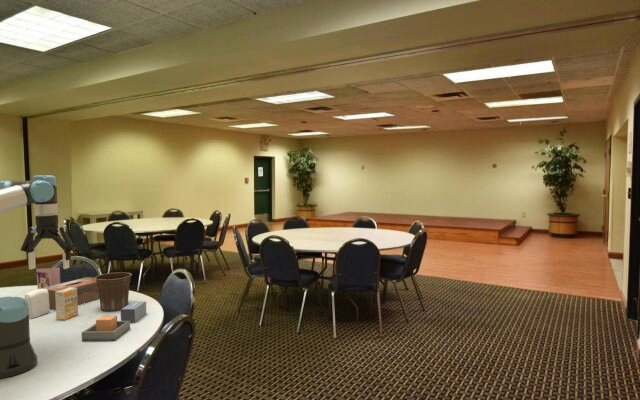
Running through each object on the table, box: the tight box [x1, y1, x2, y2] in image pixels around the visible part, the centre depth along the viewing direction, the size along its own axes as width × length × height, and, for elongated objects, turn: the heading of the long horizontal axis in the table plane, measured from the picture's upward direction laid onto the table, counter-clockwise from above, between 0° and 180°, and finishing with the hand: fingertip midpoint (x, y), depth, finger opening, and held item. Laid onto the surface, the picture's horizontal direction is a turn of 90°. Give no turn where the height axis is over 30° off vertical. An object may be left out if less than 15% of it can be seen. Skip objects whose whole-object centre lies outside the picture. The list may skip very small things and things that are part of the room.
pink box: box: [36, 267, 61, 289], centre depth 231 cm, size 11×7×15 cm, turn 67°
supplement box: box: [55, 288, 79, 321], centre depth 193 cm, size 8×5×13 cm, turn 168°
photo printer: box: [24, 288, 51, 320], centre depth 197 cm, size 10×4×12 cm, turn 162°
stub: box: [95, 315, 118, 331], centre depth 171 cm, size 5×6×6 cm
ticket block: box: [120, 300, 147, 324], centre depth 191 cm, size 12×6×6 cm, turn 179°
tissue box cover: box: [40, 276, 100, 311], centre depth 218 cm, size 26×14×10 cm, turn 156°
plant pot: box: [94, 271, 133, 312], centre depth 207 cm, size 16×16×16 cm
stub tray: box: [81, 320, 131, 342], centre depth 171 cm, size 13×13×4 cm
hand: (49, 268), depth 165 cm, fingers open, 13 cm apart
